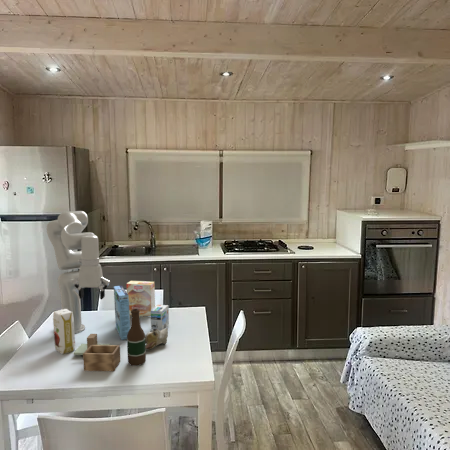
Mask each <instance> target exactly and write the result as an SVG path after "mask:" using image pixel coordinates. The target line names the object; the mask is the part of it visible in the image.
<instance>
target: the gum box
mask: <svg viewBox="0 0 450 450" xmlns="http://www.w3.org/2000/svg"><path fill="white" fill-rule="evenodd" d="M113 295H114V296H113V298H114V299H113V300H114V301H113V302H114V316H115V318H114V319H115V321H114V322H115V328H116V331H117V334H118V336H119V338H120V340H121V341H122V340H123V341H124V340H127V334H128V332H129V330H130V328H131V318H130V317H131V316H130V314H129V295H128V294H127V290H126V289H125V288H124V287H123V285H115V286H113Z"/></svg>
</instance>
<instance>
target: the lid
mask: <svg viewBox="0 0 450 450" xmlns="http://www.w3.org/2000/svg"><path fill="white" fill-rule="evenodd" d="M90 345H111V343H98V334H97V333H90V334H89V335H88V336H87V337H86V343H80V345H79V346H78V347H77V348H75V350H74V351H73V353H72V354H73V355H74V356H83V353H84V352H85V351H86V350H87V349H88V348H89V347H90Z"/></svg>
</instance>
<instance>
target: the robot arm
mask: <svg viewBox="0 0 450 450" xmlns="http://www.w3.org/2000/svg"><path fill="white" fill-rule="evenodd" d="M88 224H89V217H88V214H87V213H86V212H85V211H83V210H73V211H72V210H71V211H63V212H60V214H58V216H57V219H55V220H50V221H49V222H48V223H47V224H46V233H47V237H48V239H49V241H50V243H51V244H52V247H53V249H54V250H53V251H54V254H55V259H56V260H55V261H56V265H57V267H58V269H59V270H60V271H65V272H63V273H60V275H58V278H57V283H58V287H59V293H60V305H61V310H63V309H67V310H69V311H71V312H73V317H74V335H75V334H79V333H82V332H83V331H84V330H85V328H86V327H85V325H84V324H83V323H82V305H81V304H82V303H81V299H83V298H84V297H85V293H84V292H85V291H84V289H85V288H96V289H97V288H99V290H100V291H99V300H103V299H105V296H106V294H105V293H106V291H105V290H106V289H107V288H108V287H109V285H110V283H111V281H110V280H109V279H107V278H106V277H104V276H103V269H102V265H101V264H100V253H99V252H100V251H99V250H100V249H99V246H100V245H99V237H98V236H97V235H96V234H95V233H93V232H92V231H91V232H90V231H89V232H83V231H84V229H85V228H86V227H87V226H88ZM76 250H77V251H76ZM72 270H73V271H72ZM104 283H105V284H104ZM76 290H77V291H78V292H77V291H76Z"/></svg>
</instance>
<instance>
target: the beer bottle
mask: <svg viewBox="0 0 450 450" xmlns="http://www.w3.org/2000/svg"><path fill="white" fill-rule="evenodd" d="M139 312H140V311H139V309H132V310H131V313H132V315H131V316H130V317H131V318H130V330H129V332H128V334H127V339H126V347H127V348H126V349H127V363H128V364H129V365H130V366H132V367H138V366H142V365H144V363H146V361H147V357H146V356H147V353H146V351H147V349H146V348H145V346H146V344H145V336H146V334H145V331H144V329H143V328H142V327H141V320H140V319H141V318H140V316H139Z"/></svg>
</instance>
